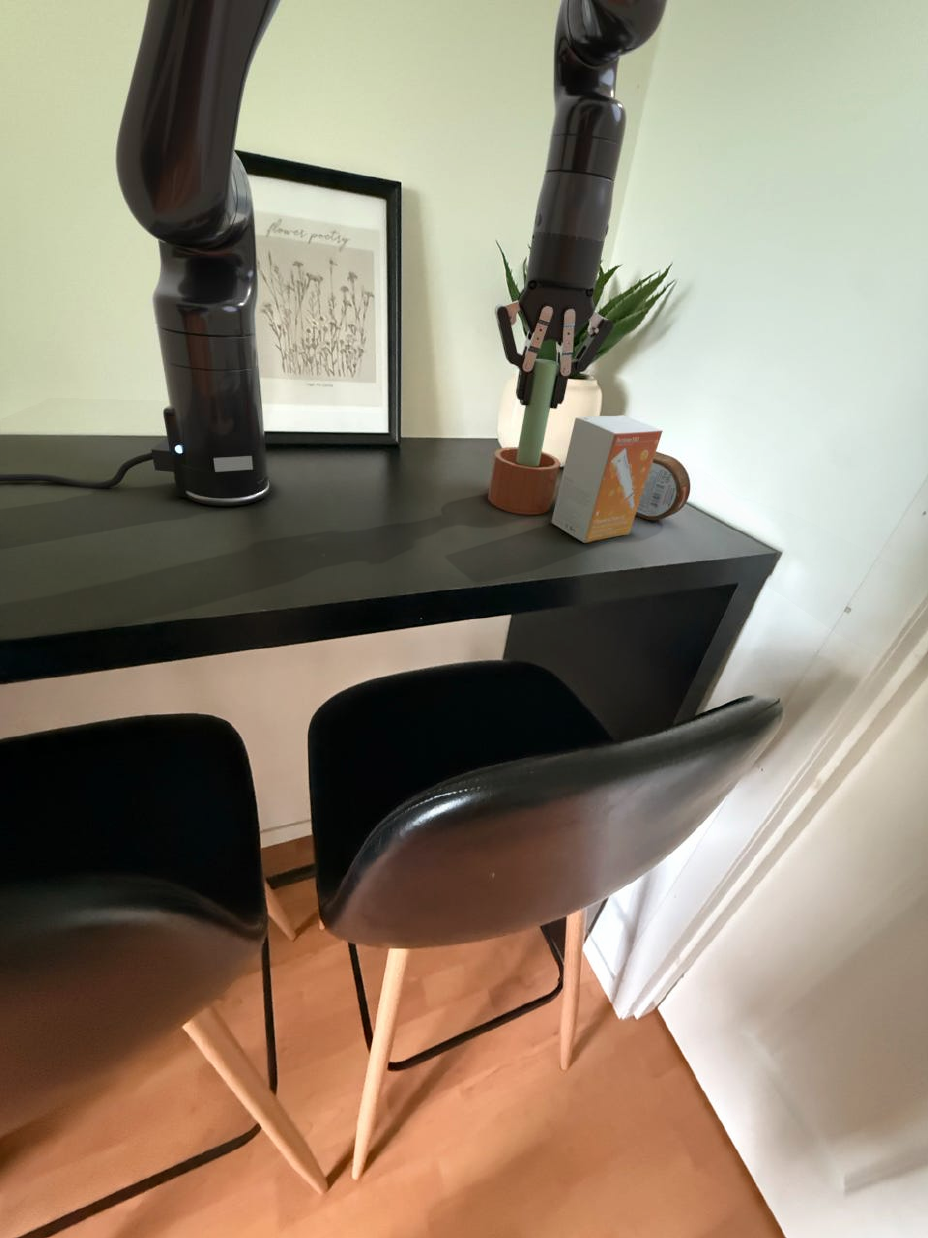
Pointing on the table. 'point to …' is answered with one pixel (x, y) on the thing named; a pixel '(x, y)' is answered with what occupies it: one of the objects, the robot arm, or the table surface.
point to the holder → (522, 483)
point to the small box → (604, 476)
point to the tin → (664, 489)
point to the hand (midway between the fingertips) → (537, 404)
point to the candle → (537, 412)
